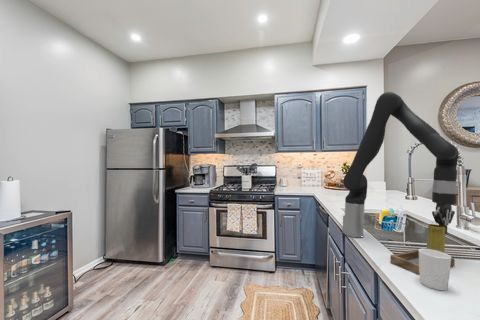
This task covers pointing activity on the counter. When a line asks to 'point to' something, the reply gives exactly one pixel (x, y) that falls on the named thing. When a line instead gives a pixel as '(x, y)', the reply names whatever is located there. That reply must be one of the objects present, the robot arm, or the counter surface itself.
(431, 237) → the vase
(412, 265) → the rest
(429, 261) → the white cup
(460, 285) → the counter surface
